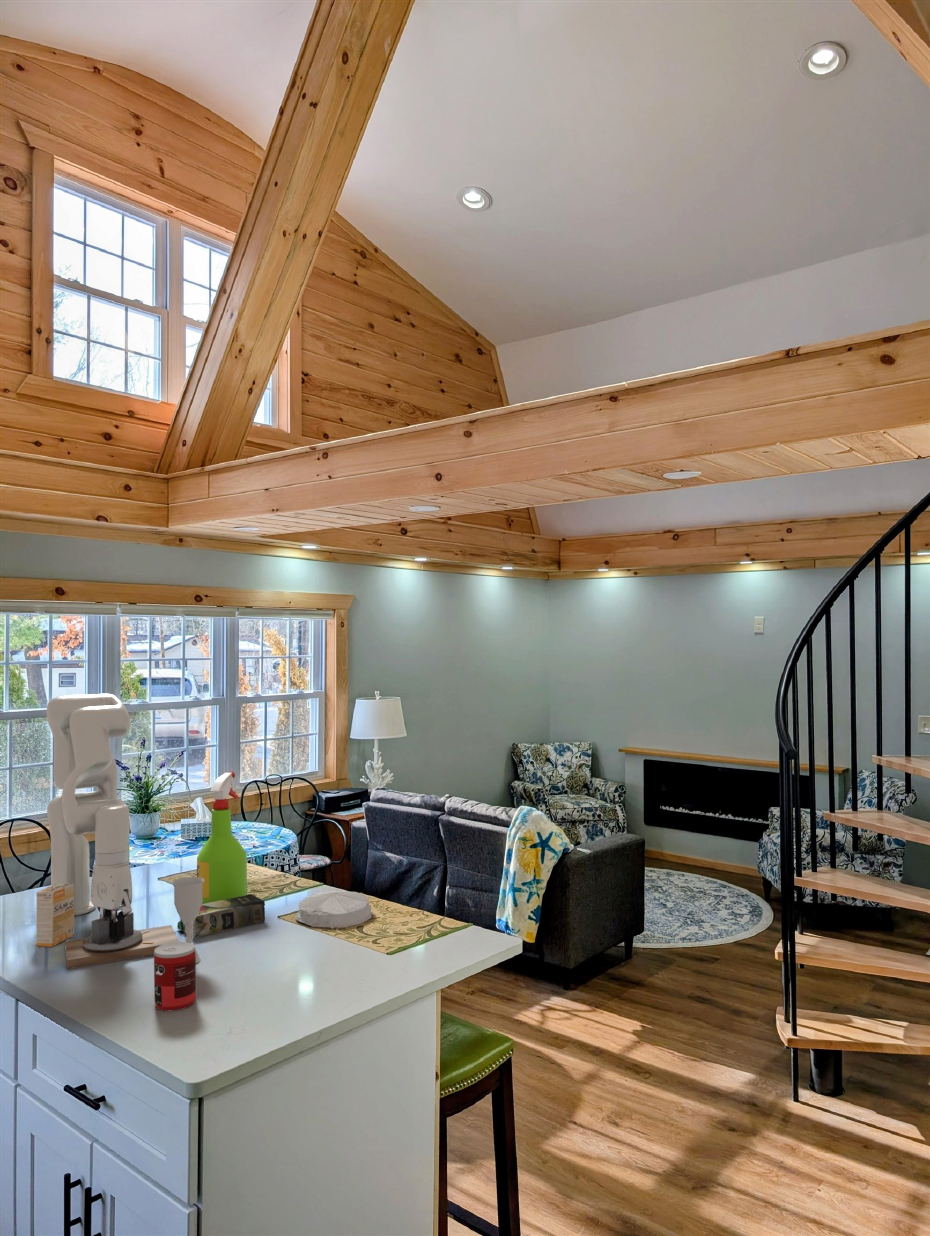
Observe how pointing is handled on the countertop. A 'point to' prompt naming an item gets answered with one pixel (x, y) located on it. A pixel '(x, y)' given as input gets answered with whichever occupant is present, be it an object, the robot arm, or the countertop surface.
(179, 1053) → the countertop surface
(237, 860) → the spray bottle
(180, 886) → the chalice
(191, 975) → the canned food
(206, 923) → the juice carton
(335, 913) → the white round cake
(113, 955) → the dial panel
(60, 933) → the supplement box
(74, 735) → the robot arm
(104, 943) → the dial
